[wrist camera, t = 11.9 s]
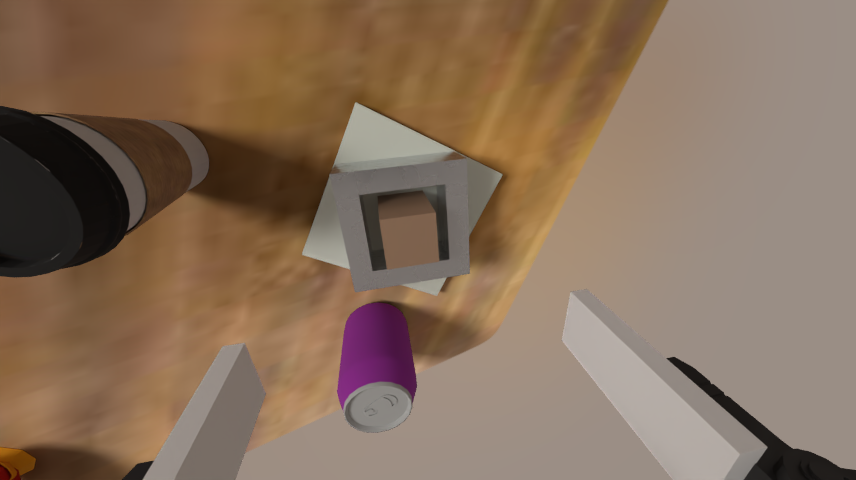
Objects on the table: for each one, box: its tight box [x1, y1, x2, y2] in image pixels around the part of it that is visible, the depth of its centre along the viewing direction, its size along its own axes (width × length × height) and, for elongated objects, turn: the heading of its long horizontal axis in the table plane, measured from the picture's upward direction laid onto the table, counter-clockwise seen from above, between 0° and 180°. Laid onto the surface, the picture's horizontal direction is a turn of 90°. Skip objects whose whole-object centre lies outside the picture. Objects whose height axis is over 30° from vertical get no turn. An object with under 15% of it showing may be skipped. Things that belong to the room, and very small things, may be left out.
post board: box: [302, 103, 503, 296], centre depth 29 cm, size 16×16×8 cm
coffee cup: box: [0, 106, 209, 277], centre depth 20 cm, size 8×8×15 cm
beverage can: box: [337, 303, 417, 433], centre depth 33 cm, size 8×8×12 cm
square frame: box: [329, 151, 470, 292], centre depth 30 cm, size 12×12×4 cm
